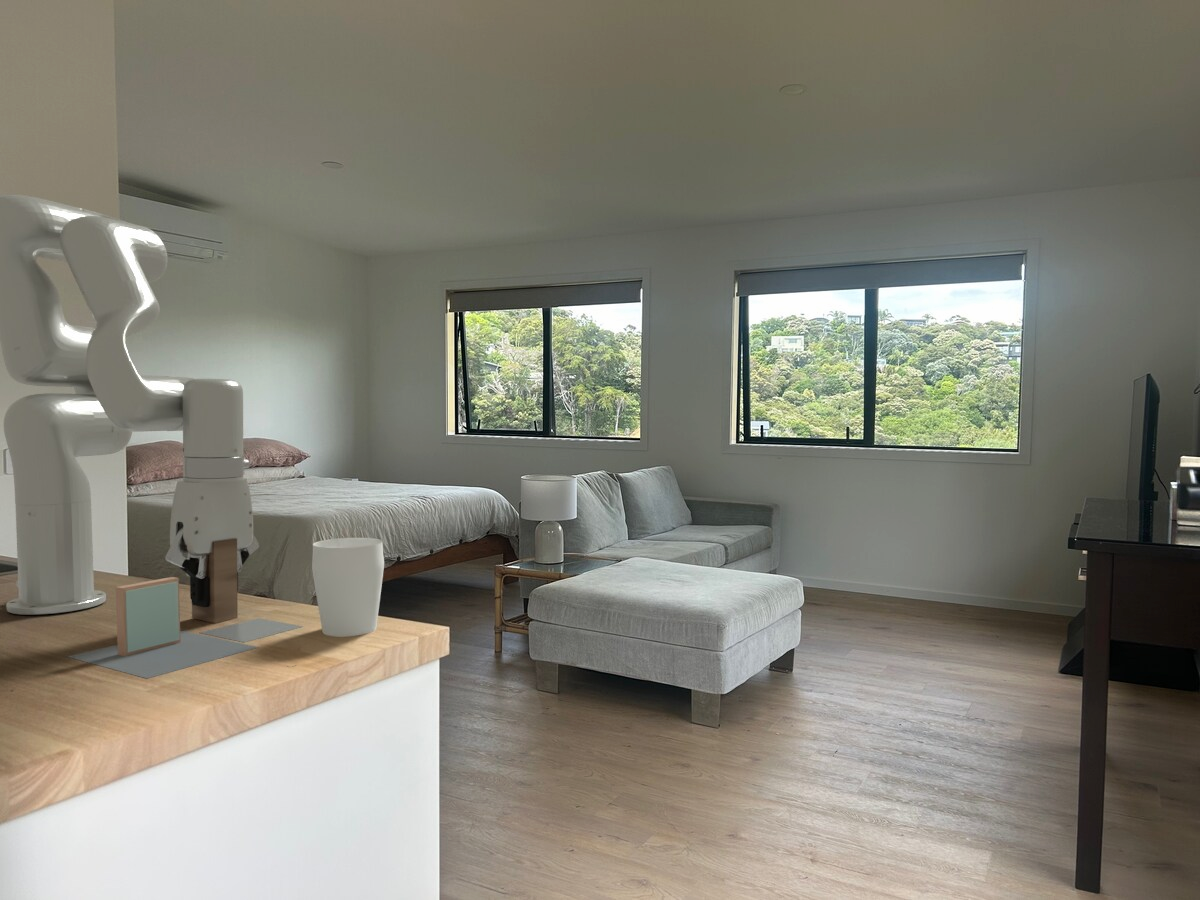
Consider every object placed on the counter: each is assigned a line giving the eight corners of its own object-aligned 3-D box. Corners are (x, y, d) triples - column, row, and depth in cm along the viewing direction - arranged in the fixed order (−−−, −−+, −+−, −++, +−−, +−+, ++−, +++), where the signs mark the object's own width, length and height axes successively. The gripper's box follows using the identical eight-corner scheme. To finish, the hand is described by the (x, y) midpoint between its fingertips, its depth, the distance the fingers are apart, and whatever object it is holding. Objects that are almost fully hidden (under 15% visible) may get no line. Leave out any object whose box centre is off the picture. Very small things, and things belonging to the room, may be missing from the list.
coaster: (199, 637, 112) (199, 632, 112) (259, 622, 120) (259, 618, 120) (244, 647, 107) (244, 642, 107) (303, 630, 115) (303, 626, 115)
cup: (310, 629, 116) (308, 539, 115) (379, 622, 119) (377, 535, 119) (316, 646, 107) (314, 550, 107) (390, 638, 111) (389, 545, 110)
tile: (117, 654, 102) (115, 586, 102) (173, 640, 108) (171, 576, 108) (125, 656, 101) (123, 588, 101) (181, 642, 107) (179, 578, 107)
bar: (192, 617, 119) (191, 538, 119) (214, 612, 122) (214, 535, 122) (214, 623, 117) (214, 542, 116) (237, 617, 120) (237, 538, 119)
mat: (67, 661, 101) (67, 656, 101) (179, 634, 113) (179, 629, 113) (147, 683, 93) (147, 678, 93) (259, 652, 105) (259, 647, 105)
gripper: (248, 464, 127) (249, 588, 129) (138, 471, 113) (140, 610, 114) (282, 467, 124) (282, 595, 125) (173, 475, 109) (174, 619, 111)
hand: (214, 601), depth 120 cm, fingers closed on bar, 3 cm apart
